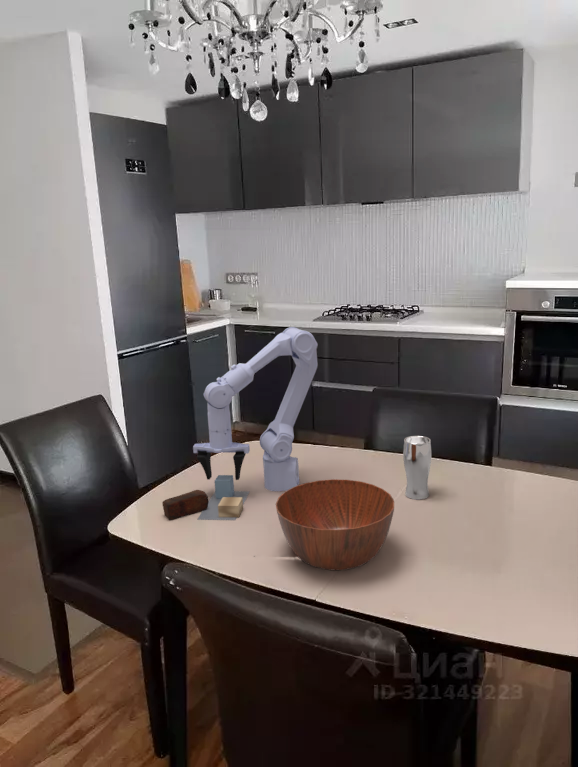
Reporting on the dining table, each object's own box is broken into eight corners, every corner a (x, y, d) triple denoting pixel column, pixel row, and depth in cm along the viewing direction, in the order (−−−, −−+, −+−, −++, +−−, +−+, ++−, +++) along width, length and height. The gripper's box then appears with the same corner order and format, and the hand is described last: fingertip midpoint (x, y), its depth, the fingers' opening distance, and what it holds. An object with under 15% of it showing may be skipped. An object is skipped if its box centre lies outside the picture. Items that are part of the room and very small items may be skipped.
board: (249, 494, 161) (249, 491, 161) (235, 523, 145) (235, 520, 144) (215, 493, 162) (215, 490, 162) (197, 522, 146) (197, 519, 146)
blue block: (234, 492, 160) (233, 475, 159) (230, 499, 157) (229, 481, 155) (219, 492, 161) (218, 475, 160) (215, 498, 157) (214, 480, 156)
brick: (170, 523, 146) (167, 505, 145) (164, 518, 149) (161, 500, 148) (210, 508, 151) (207, 491, 150) (203, 504, 154) (200, 487, 153)
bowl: (364, 596, 113) (363, 541, 110) (255, 564, 126) (252, 514, 123) (412, 539, 133) (412, 491, 130) (314, 516, 146) (312, 472, 143)
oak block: (243, 508, 151) (242, 497, 150) (238, 517, 146) (237, 506, 145) (223, 508, 151) (222, 497, 151) (218, 517, 146) (217, 505, 146)
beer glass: (401, 498, 154) (400, 443, 150) (406, 488, 160) (406, 434, 156) (428, 501, 151) (428, 445, 147) (433, 491, 157) (433, 436, 154)
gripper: (188, 433, 152) (192, 483, 155) (244, 433, 150) (247, 484, 153) (196, 425, 158) (200, 473, 162) (249, 425, 156) (252, 474, 159)
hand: (223, 478), depth 158 cm, fingers open, 7 cm apart
